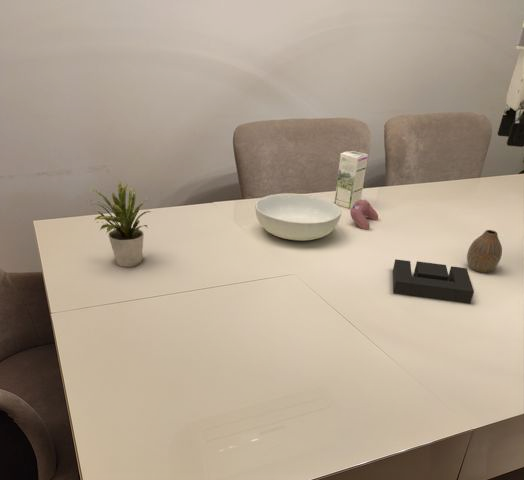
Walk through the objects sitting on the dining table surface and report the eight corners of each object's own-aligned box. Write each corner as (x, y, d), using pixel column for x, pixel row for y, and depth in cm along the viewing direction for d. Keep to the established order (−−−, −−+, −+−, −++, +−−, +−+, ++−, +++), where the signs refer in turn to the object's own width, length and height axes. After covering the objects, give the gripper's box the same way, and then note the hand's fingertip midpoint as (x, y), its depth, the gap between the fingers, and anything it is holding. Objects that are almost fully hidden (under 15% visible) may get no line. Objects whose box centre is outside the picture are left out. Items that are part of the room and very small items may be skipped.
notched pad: (462, 280, 107) (466, 268, 105) (469, 305, 98) (474, 291, 96) (392, 271, 109) (395, 259, 107) (392, 294, 100) (395, 281, 98)
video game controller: (364, 223, 138) (356, 198, 135) (379, 218, 135) (372, 193, 133) (353, 234, 130) (345, 208, 128) (369, 229, 128) (361, 203, 125)
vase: (493, 265, 114) (505, 228, 109) (498, 278, 109) (511, 239, 104) (462, 261, 115) (472, 224, 110) (465, 273, 110) (476, 235, 105)
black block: (441, 279, 107) (446, 264, 105) (444, 292, 102) (449, 276, 100) (413, 276, 107) (416, 261, 105) (414, 288, 103) (418, 273, 101)
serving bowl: (263, 252, 114) (265, 223, 110) (247, 220, 131) (248, 193, 127) (349, 248, 118) (354, 220, 114) (323, 218, 135) (326, 192, 131)
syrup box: (360, 205, 146) (369, 153, 137) (349, 210, 142) (357, 156, 134) (344, 200, 149) (351, 149, 140) (333, 205, 145) (340, 152, 137)
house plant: (88, 250, 110) (76, 174, 101) (151, 243, 115) (144, 171, 106) (96, 278, 100) (83, 196, 90) (164, 269, 104) (159, 190, 95)
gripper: (577, 44, 83) (540, 152, 93) (549, 40, 98) (520, 134, 107) (529, 41, 85) (498, 148, 94) (509, 38, 99) (483, 131, 108)
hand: (509, 140), depth 101 cm, fingers open, 9 cm apart
